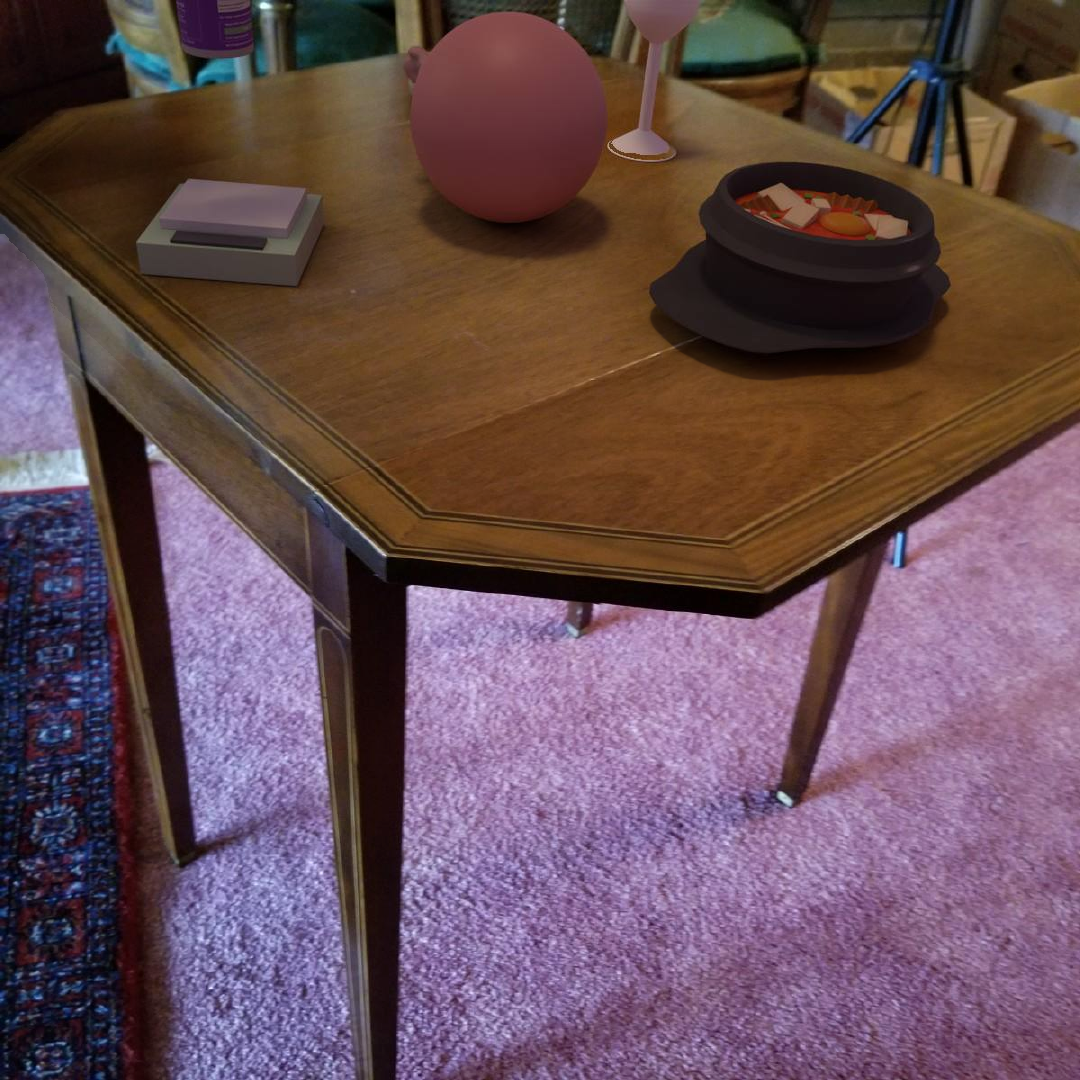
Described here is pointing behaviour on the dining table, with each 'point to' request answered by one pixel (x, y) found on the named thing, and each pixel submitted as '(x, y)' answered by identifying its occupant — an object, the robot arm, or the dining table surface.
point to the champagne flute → (653, 67)
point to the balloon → (507, 116)
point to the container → (215, 28)
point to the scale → (233, 233)
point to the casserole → (807, 262)
